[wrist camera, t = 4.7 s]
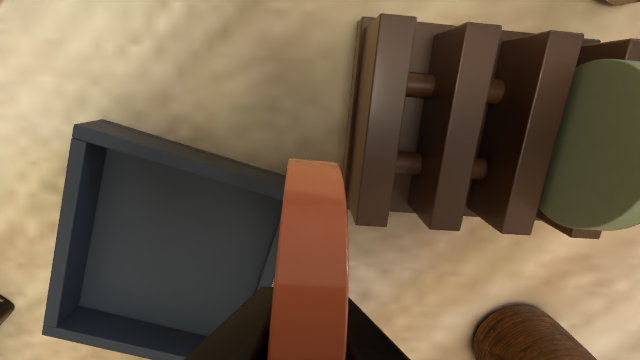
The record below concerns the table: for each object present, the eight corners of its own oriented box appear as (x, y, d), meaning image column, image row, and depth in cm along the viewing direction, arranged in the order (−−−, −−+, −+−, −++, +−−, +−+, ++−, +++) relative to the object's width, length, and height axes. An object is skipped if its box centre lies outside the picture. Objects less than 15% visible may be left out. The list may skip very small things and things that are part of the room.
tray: (246, 350, 23) (239, 379, 20) (69, 307, 21) (41, 334, 19) (302, 181, 20) (302, 193, 17) (102, 119, 18) (73, 123, 16)
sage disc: (530, 199, 19) (657, 262, 12) (509, 197, 19) (625, 261, 12) (564, 66, 17) (738, 53, 10) (541, 64, 17) (701, 50, 10)
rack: (537, 214, 21) (600, 249, 17) (339, 202, 20) (349, 235, 16) (583, 42, 18) (674, 28, 14) (358, 20, 18) (376, -2, 13)
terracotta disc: (310, 323, 13) (317, 582, 6) (278, 322, 13) (251, 582, 6) (329, 142, 11) (368, 224, 4) (292, 138, 11) (275, 217, 4)
